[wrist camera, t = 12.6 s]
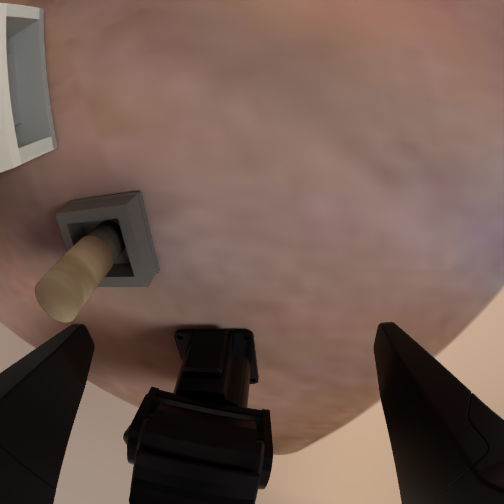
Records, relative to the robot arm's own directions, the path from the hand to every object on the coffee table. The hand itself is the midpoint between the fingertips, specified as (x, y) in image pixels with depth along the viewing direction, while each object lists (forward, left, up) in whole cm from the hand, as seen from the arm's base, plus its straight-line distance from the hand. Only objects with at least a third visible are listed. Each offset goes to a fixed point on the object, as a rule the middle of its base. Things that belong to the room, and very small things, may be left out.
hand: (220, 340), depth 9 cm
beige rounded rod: (-2, +10, -12) cm, 15 cm away
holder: (-2, +10, -12) cm, 16 cm away
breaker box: (+11, +18, -12) cm, 24 cm away
